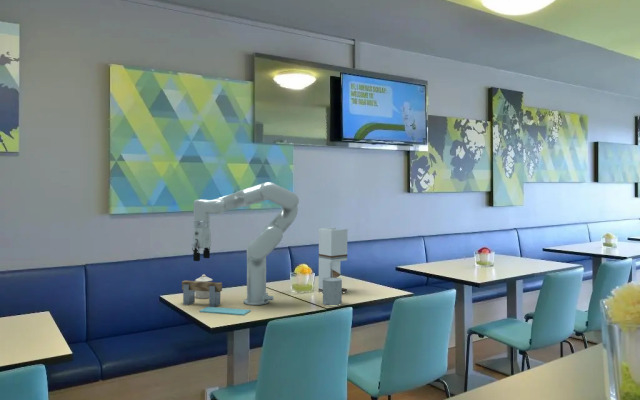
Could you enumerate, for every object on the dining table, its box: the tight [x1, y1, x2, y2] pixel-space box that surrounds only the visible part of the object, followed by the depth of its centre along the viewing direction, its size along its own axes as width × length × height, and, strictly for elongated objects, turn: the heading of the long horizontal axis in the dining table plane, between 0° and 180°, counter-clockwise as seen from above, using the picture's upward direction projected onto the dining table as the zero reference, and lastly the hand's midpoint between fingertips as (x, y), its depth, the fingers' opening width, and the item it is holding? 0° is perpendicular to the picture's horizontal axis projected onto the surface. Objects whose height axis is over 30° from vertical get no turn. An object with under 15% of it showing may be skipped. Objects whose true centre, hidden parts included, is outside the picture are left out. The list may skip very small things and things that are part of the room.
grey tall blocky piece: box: [318, 227, 348, 294], centre depth 276 cm, size 11×11×35 cm
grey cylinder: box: [322, 277, 343, 306], centre depth 250 cm, size 10×10×12 cm
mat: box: [198, 306, 252, 316], centre depth 234 cm, size 22×8×1 cm, turn 75°
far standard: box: [182, 284, 196, 306], centre depth 249 cm, size 3×6×10 cm, turn 165°
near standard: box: [208, 286, 221, 307], centre depth 245 cm, size 3×6×10 cm, turn 165°
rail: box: [181, 279, 223, 293], centre depth 247 cm, size 20×3×4 cm, turn 75°
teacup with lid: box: [194, 274, 214, 300], centre depth 265 cm, size 12×9×12 cm
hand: (201, 259), depth 247 cm, fingers open, 9 cm apart
